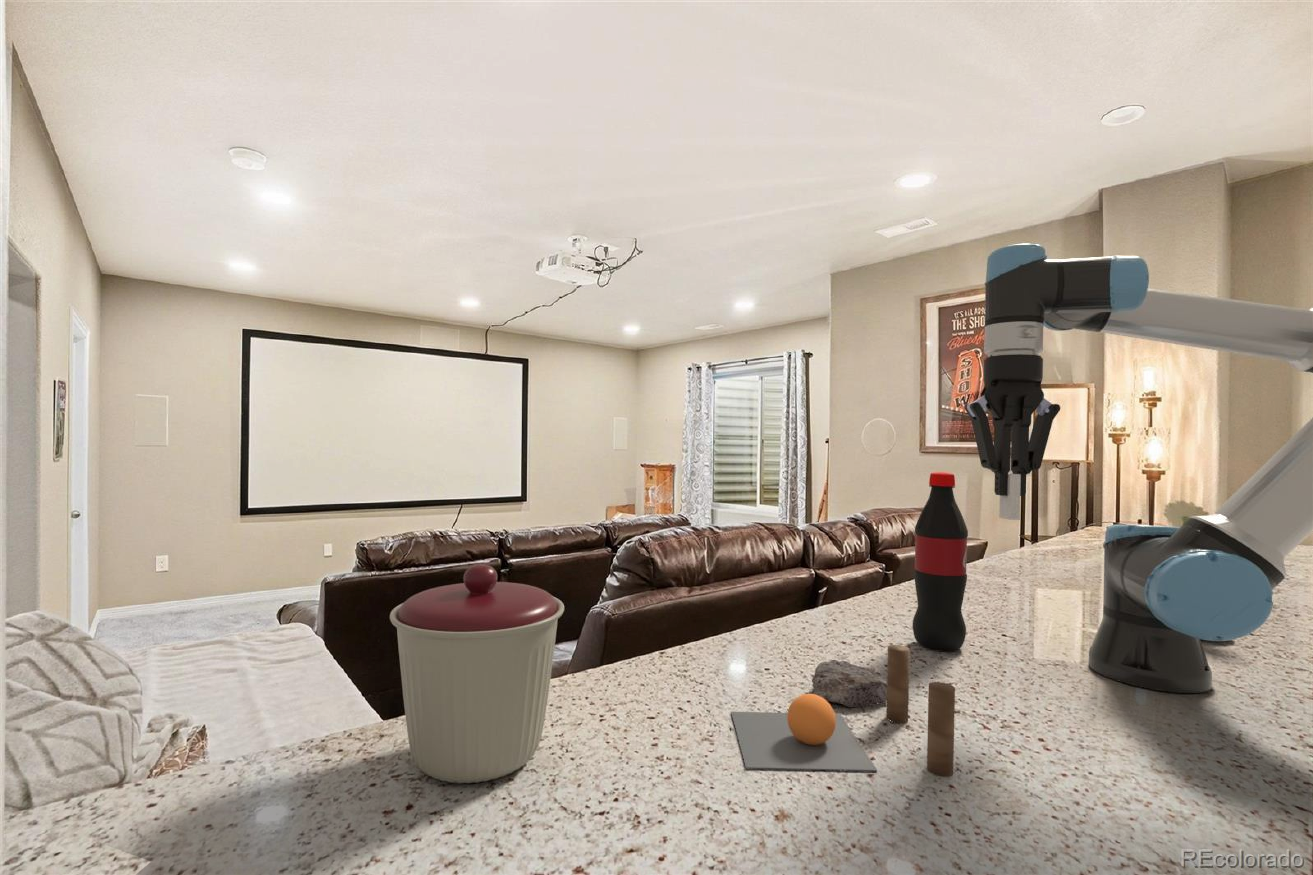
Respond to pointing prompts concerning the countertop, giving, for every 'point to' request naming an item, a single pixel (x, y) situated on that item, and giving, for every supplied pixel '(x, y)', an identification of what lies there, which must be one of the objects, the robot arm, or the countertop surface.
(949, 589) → the cola bottle
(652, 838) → the countertop surface
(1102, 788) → the countertop surface
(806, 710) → the ball
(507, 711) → the canister
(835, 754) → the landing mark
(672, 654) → the countertop surface
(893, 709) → the post
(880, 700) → the rock
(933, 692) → the post
